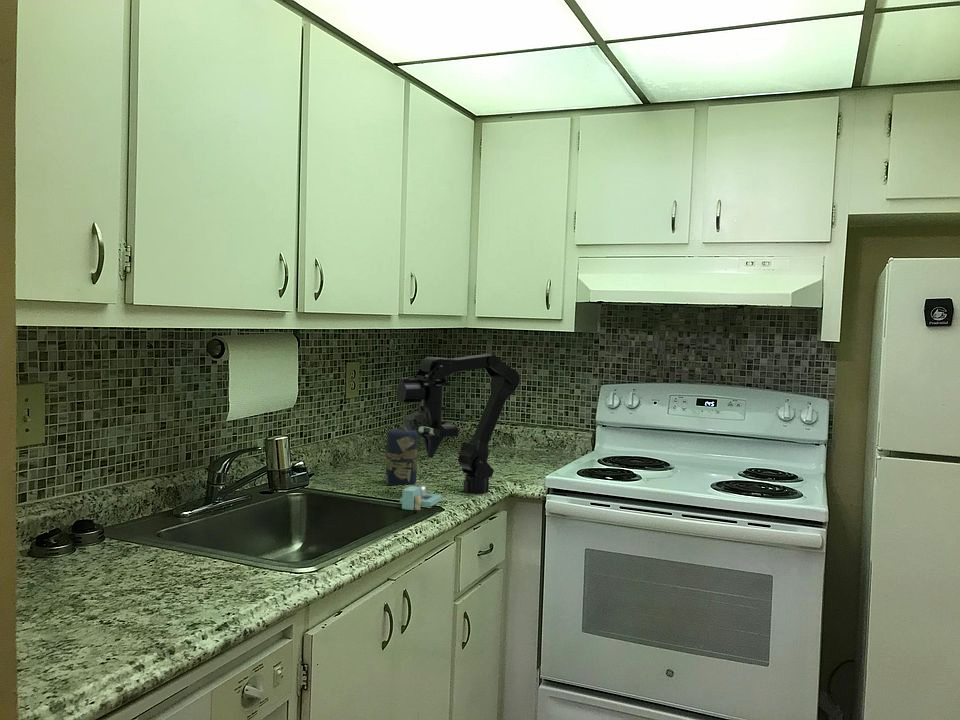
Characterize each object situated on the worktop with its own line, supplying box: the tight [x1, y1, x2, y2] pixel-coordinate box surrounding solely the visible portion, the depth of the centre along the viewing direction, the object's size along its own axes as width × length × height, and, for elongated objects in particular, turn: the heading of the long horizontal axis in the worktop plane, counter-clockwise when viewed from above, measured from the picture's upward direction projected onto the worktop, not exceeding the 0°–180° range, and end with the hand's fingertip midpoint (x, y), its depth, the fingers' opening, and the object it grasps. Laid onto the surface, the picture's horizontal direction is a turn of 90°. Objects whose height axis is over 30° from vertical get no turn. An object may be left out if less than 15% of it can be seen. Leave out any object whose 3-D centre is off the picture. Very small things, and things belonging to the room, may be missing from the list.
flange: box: [399, 485, 443, 511], centre depth 208 cm, size 14×9×5 cm, turn 163°
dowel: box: [414, 496, 422, 511], centre depth 202 cm, size 2×2×4 cm
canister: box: [385, 426, 419, 487], centre depth 235 cm, size 10×10×18 cm
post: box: [415, 484, 428, 500], centre depth 210 cm, size 3×3×4 cm
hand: (430, 457), depth 215 cm, fingers closed
